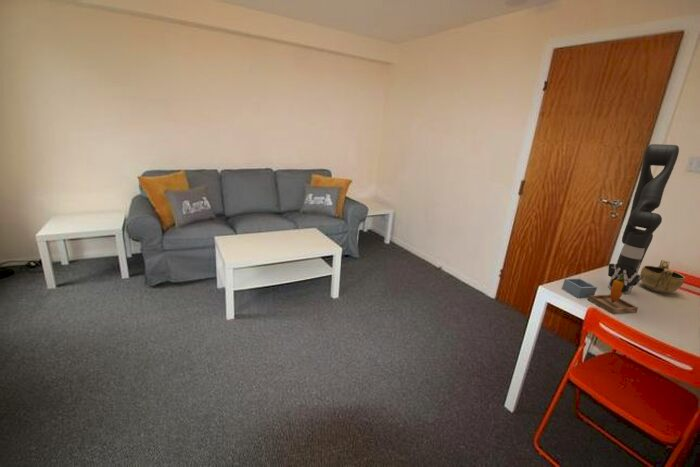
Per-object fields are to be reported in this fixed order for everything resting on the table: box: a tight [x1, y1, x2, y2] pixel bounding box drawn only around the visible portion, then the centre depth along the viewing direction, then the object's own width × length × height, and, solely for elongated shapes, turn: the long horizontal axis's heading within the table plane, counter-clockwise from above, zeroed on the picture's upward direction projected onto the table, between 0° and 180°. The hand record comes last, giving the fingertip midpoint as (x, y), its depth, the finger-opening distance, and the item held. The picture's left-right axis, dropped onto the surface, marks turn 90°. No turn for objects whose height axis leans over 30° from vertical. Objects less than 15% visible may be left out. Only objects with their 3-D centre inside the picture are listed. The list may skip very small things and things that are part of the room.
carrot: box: [609, 274, 629, 303], centre depth 153 cm, size 5×5×15 cm
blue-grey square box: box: [561, 278, 598, 299], centre depth 166 cm, size 10×10×6 cm
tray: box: [587, 294, 639, 315], centre depth 156 cm, size 14×12×2 cm
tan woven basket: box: [639, 259, 686, 294], centre depth 178 cm, size 22×17×15 cm
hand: (617, 289), depth 154 cm, fingers closed on carrot, 4 cm apart
